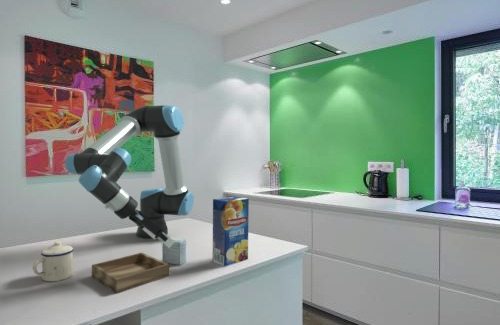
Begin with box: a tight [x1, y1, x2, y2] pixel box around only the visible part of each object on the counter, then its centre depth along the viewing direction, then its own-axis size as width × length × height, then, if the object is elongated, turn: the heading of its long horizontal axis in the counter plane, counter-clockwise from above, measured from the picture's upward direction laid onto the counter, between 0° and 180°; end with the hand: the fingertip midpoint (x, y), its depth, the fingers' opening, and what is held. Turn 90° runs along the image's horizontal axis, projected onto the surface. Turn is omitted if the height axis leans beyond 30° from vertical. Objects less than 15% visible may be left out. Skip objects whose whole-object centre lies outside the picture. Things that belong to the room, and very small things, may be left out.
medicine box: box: [161, 237, 187, 266], centre depth 120 cm, size 8×4×9 cm, turn 71°
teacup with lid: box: [32, 240, 74, 282], centre depth 103 cm, size 12×9×12 cm
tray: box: [91, 252, 170, 294], centre depth 106 cm, size 18×18×4 cm
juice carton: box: [212, 196, 250, 267], centre depth 122 cm, size 12×8×24 cm, turn 134°
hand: (163, 240), depth 116 cm, fingers open, 13 cm apart
